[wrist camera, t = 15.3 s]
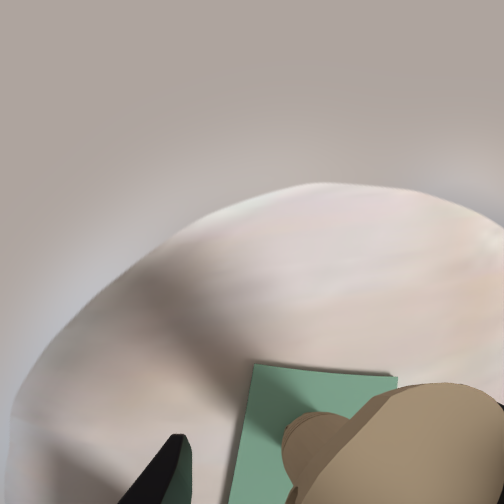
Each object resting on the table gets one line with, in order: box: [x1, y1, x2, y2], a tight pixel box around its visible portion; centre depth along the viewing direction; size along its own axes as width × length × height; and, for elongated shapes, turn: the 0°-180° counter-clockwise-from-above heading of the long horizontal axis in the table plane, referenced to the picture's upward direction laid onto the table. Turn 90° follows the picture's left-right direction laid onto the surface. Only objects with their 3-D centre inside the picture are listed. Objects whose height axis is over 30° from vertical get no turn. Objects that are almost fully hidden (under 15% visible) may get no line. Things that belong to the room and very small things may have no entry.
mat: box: [228, 364, 398, 504], centre depth 16 cm, size 14×10×1 cm
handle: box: [281, 383, 504, 504], centre depth 10 cm, size 5×6×15 cm
